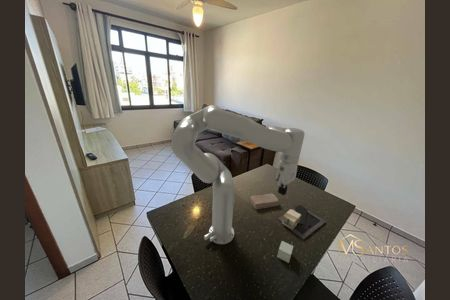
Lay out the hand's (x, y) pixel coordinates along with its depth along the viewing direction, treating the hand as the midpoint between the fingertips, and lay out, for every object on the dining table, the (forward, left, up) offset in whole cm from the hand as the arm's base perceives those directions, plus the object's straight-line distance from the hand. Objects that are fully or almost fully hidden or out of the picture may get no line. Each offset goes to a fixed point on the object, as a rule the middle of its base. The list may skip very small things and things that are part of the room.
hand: (281, 193), depth 81 cm
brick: (+14, +16, -24) cm, 32 cm away
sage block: (-9, -10, -23) cm, 27 cm away
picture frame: (+18, -6, -24) cm, 30 cm away
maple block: (+7, -3, -19) cm, 21 cm away
